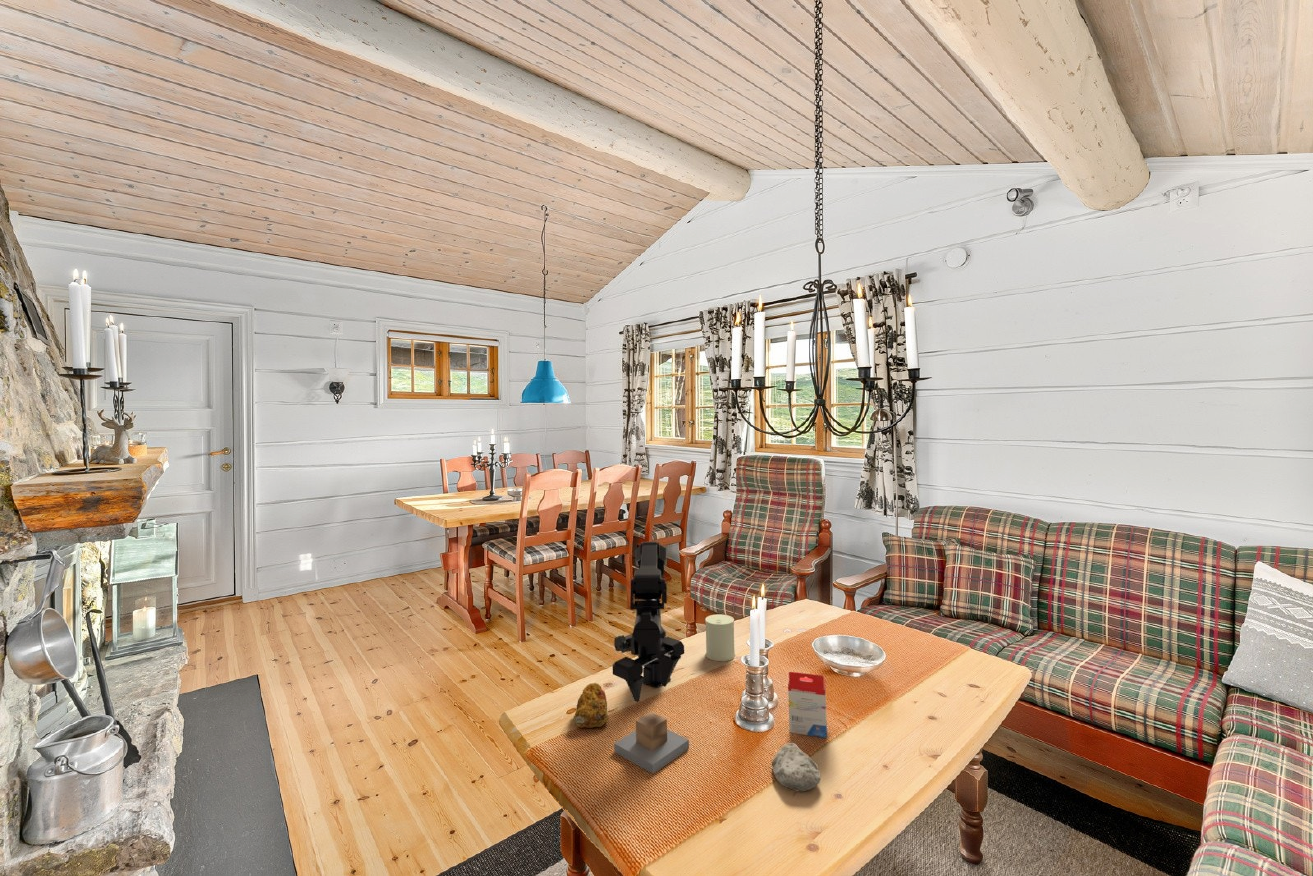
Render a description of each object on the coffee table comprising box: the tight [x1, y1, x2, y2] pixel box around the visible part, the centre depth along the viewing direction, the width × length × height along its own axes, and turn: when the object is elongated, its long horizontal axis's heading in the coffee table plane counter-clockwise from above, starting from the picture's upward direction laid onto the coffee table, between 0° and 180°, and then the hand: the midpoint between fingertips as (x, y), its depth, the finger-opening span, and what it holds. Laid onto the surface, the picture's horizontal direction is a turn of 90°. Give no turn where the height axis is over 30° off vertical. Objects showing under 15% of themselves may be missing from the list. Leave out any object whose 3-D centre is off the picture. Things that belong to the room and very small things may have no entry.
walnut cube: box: [635, 711, 668, 751], centre depth 124 cm, size 5×5×5 cm
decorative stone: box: [771, 742, 821, 793], centre depth 114 cm, size 12×11×5 cm
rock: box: [573, 682, 609, 729], centre depth 139 cm, size 11×8×10 cm
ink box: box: [787, 671, 828, 739], centre depth 131 cm, size 8×5×15 cm, turn 71°
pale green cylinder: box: [705, 614, 736, 662], centre depth 174 cm, size 9×9×12 cm
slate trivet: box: [613, 728, 690, 775], centre depth 124 cm, size 12×12×2 cm
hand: (650, 693), depth 127 cm, fingers open, 9 cm apart
